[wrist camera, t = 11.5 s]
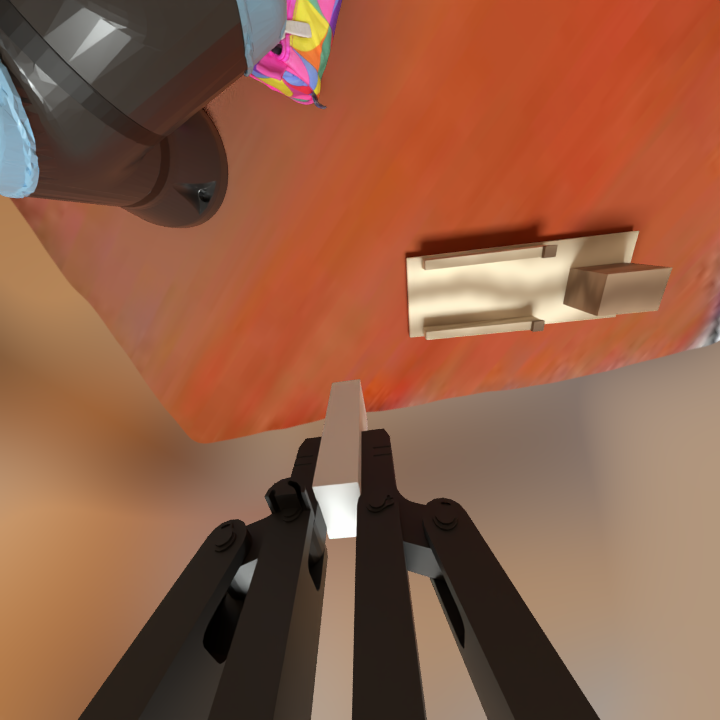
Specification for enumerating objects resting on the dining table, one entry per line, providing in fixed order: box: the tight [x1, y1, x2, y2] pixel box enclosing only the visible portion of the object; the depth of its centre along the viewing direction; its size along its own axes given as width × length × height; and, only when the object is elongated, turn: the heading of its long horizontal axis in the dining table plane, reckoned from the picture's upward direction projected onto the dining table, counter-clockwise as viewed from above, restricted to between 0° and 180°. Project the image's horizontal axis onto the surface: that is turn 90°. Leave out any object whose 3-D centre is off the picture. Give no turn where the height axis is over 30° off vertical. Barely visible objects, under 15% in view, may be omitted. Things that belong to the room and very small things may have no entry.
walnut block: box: [563, 262, 672, 316], centre depth 36 cm, size 5×7×6 cm
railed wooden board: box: [406, 231, 639, 340], centre depth 38 cm, size 12×30×4 cm, turn 97°
